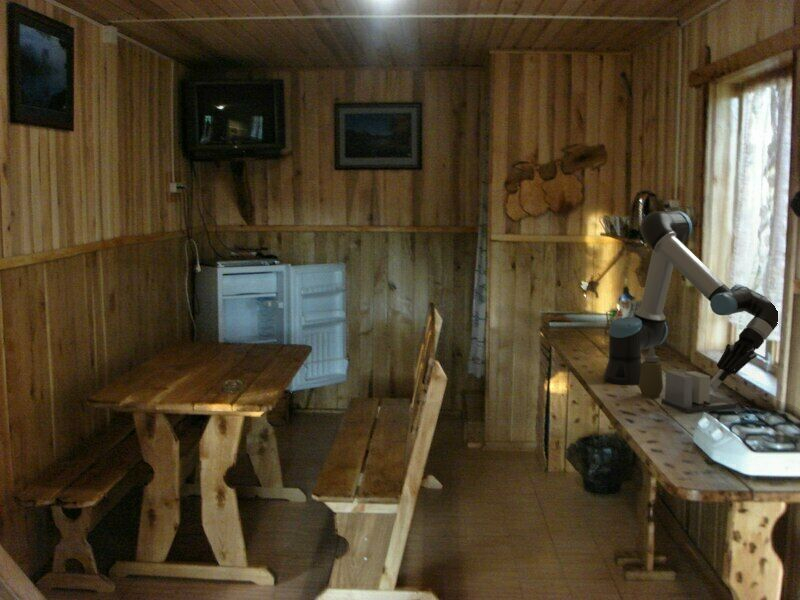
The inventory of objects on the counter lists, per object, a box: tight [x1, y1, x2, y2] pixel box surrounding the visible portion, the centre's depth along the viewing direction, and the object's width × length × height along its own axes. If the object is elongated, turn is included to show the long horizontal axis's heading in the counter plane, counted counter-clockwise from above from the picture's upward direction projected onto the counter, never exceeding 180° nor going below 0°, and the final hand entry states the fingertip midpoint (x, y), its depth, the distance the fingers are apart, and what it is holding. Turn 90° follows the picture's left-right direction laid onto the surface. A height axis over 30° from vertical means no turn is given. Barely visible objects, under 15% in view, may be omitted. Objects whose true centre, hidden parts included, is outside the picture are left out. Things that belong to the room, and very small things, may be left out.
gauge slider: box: [683, 370, 711, 405], centre depth 270 cm, size 10×7×9 cm, turn 18°
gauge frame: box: [660, 370, 737, 415], centre depth 272 cm, size 14×19×12 cm
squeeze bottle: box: [638, 346, 664, 399], centre depth 285 cm, size 8×8×18 cm
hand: (711, 386), depth 274 cm, fingers closed
